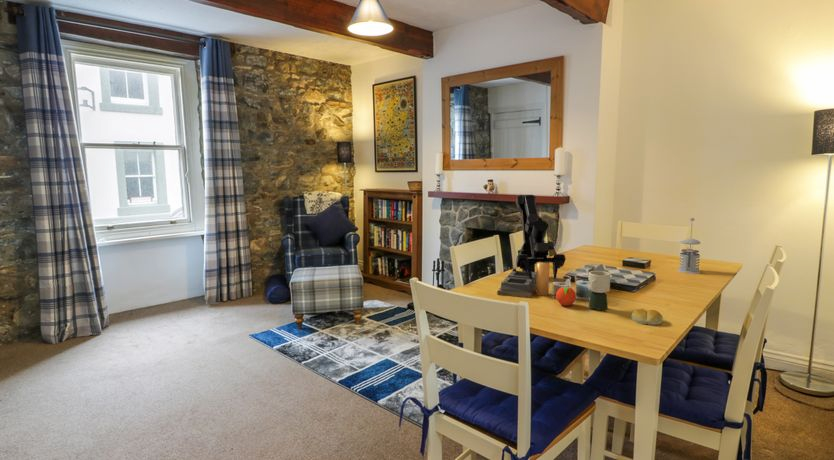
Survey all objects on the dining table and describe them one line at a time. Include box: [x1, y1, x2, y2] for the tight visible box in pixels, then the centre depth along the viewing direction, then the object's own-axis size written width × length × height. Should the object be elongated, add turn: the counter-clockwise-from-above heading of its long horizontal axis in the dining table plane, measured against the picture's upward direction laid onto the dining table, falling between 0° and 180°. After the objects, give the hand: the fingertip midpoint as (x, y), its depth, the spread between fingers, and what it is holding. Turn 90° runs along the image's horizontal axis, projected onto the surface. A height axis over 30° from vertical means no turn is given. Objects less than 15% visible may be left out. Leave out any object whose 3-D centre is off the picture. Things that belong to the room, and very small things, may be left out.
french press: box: [676, 217, 702, 275], centre depth 213 cm, size 10×12×25 cm
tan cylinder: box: [535, 262, 550, 297], centre depth 183 cm, size 5×5×12 cm
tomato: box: [555, 285, 577, 307], centre depth 168 cm, size 8×7×7 cm
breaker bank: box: [496, 268, 537, 299], centre depth 193 cm, size 25×13×6 cm, turn 157°
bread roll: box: [631, 308, 663, 326], centre depth 150 cm, size 8×9×4 cm
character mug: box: [587, 270, 611, 311], centre depth 163 cm, size 11×7×13 cm, turn 134°
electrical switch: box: [587, 263, 605, 274], centre depth 192 cm, size 9×5×9 cm, turn 141°
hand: (543, 278), depth 181 cm, fingers open, 9 cm apart
